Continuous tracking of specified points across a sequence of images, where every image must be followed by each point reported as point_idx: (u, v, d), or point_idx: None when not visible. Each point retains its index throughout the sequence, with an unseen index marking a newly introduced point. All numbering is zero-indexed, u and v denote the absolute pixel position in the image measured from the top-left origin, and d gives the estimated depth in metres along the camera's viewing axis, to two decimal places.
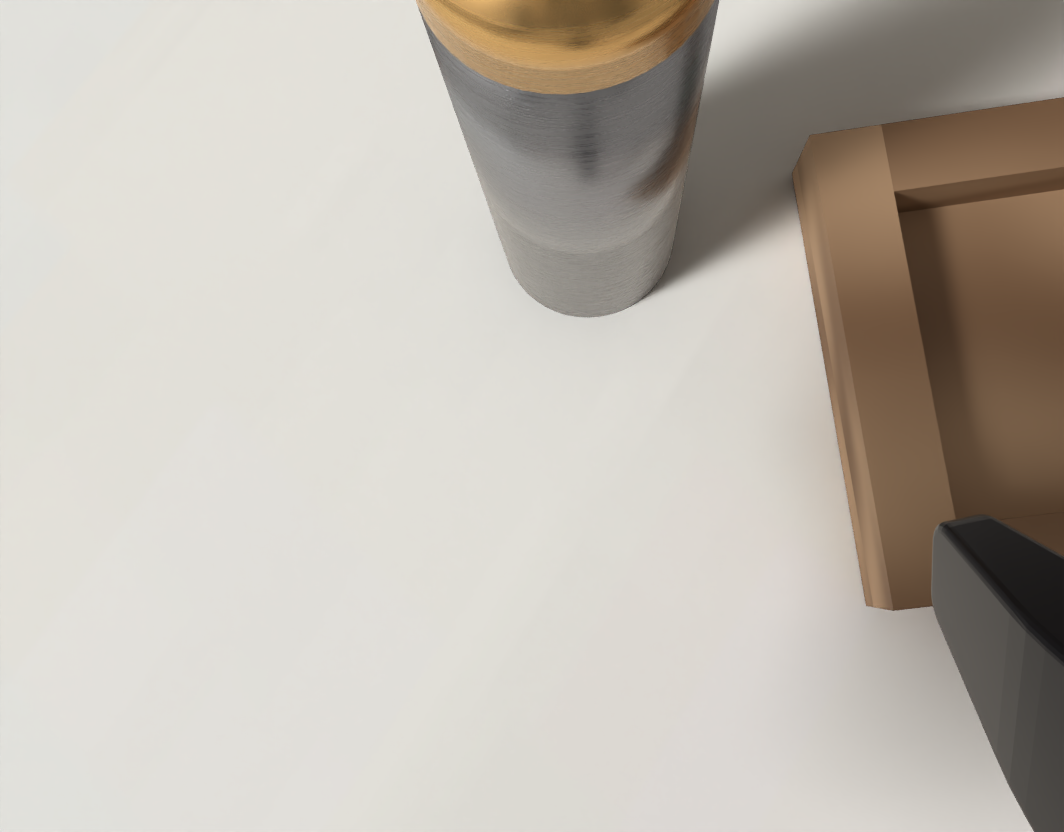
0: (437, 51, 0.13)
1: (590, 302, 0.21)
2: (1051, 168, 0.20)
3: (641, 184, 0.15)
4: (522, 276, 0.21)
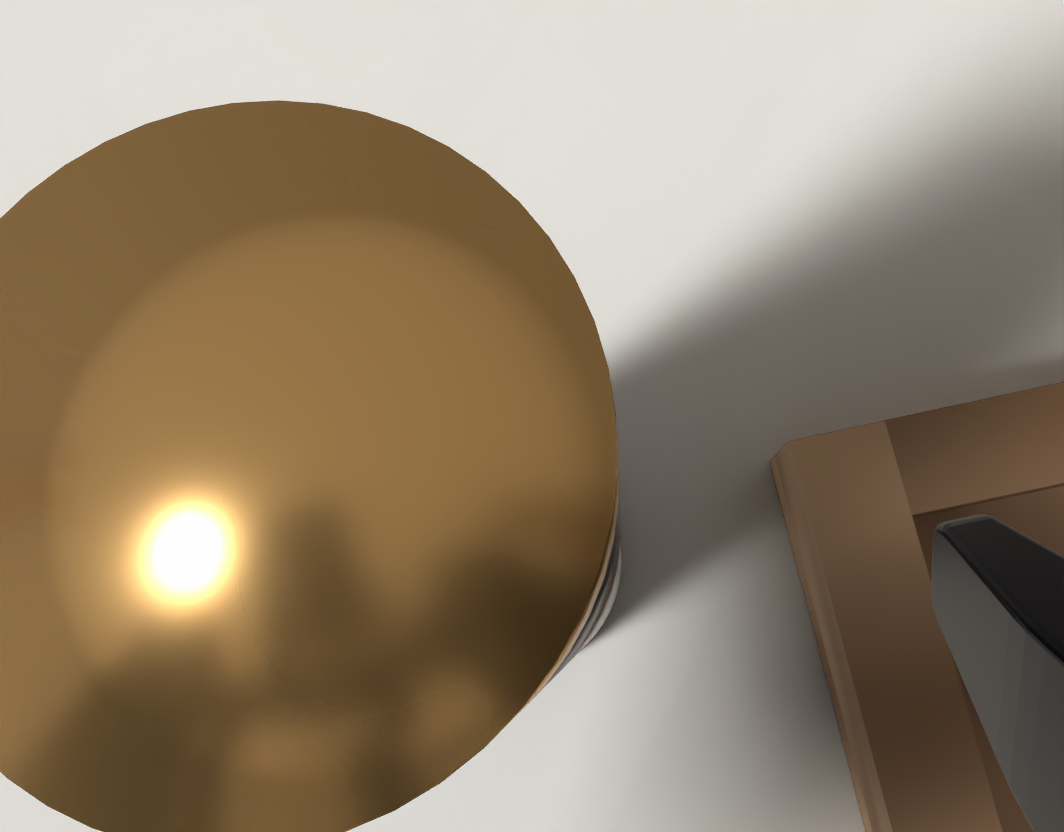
0: None
1: None
2: None
3: None
4: None
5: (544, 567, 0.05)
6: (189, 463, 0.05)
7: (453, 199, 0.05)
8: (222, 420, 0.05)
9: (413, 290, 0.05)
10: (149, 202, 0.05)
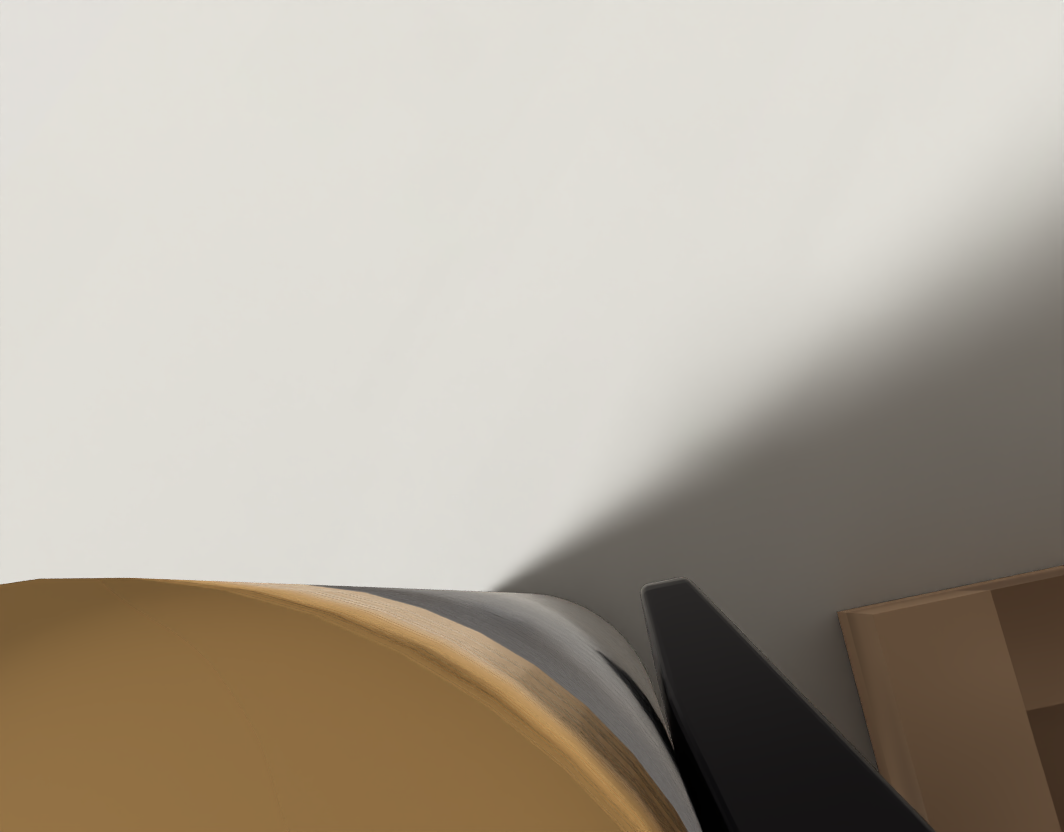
0: None
1: None
2: None
3: None
4: None
5: None
6: None
7: (496, 831, 0.02)
8: None
9: None
10: None
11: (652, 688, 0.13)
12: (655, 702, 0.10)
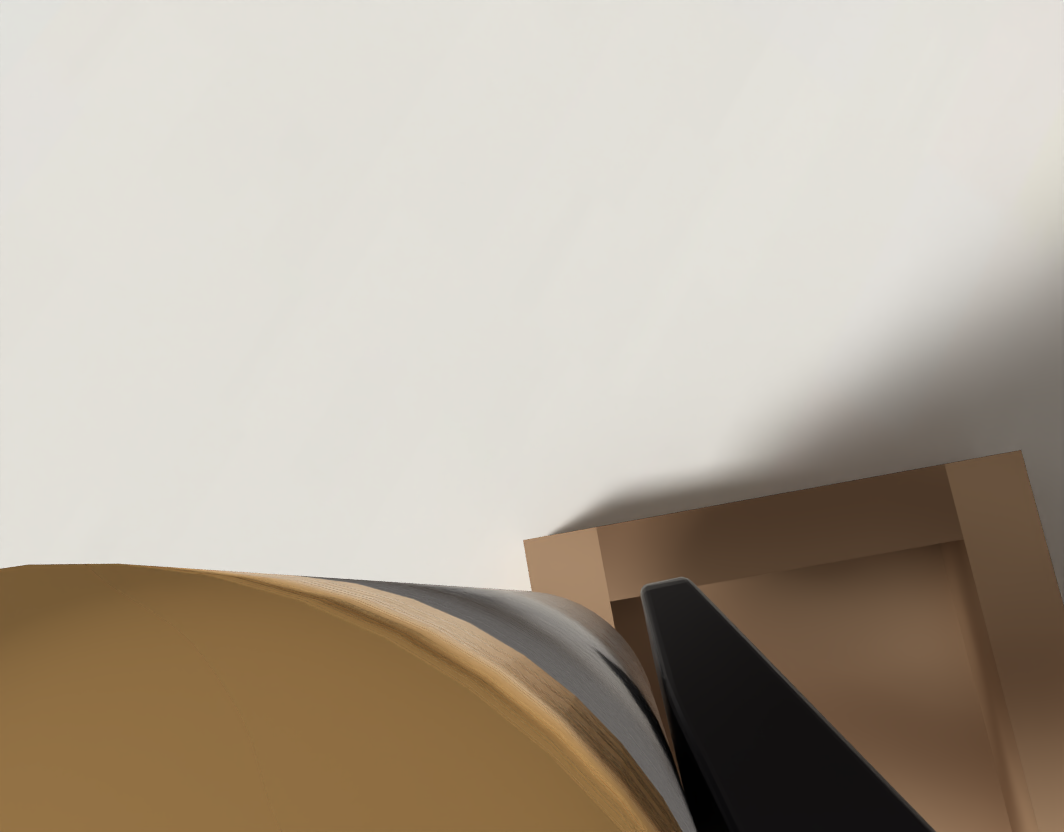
0: None
1: None
2: (771, 572, 0.19)
3: None
4: None
5: None
6: None
7: (478, 813, 0.02)
8: None
9: None
10: None
11: (649, 685, 0.13)
12: (650, 698, 0.10)
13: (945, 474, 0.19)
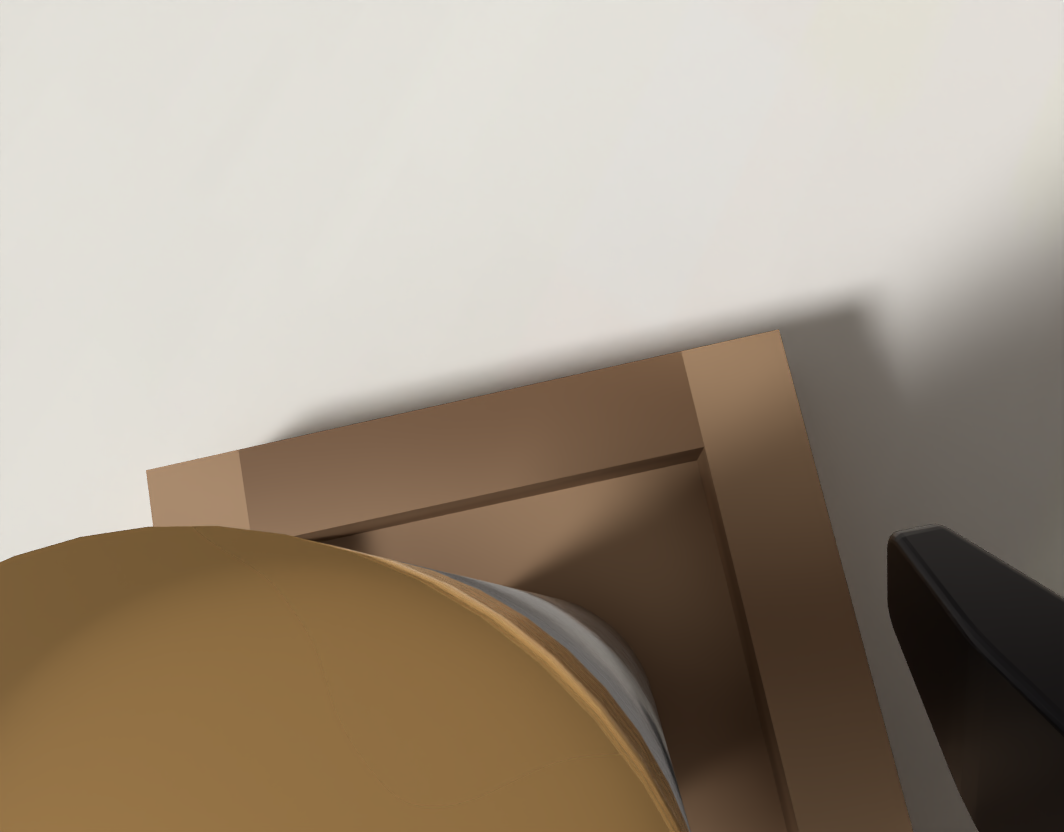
0: None
1: None
2: (458, 499, 0.15)
3: None
4: None
5: None
6: None
7: (489, 709, 0.03)
8: None
9: None
10: (15, 689, 0.04)
11: (647, 682, 0.13)
12: (646, 687, 0.10)
13: (684, 364, 0.15)
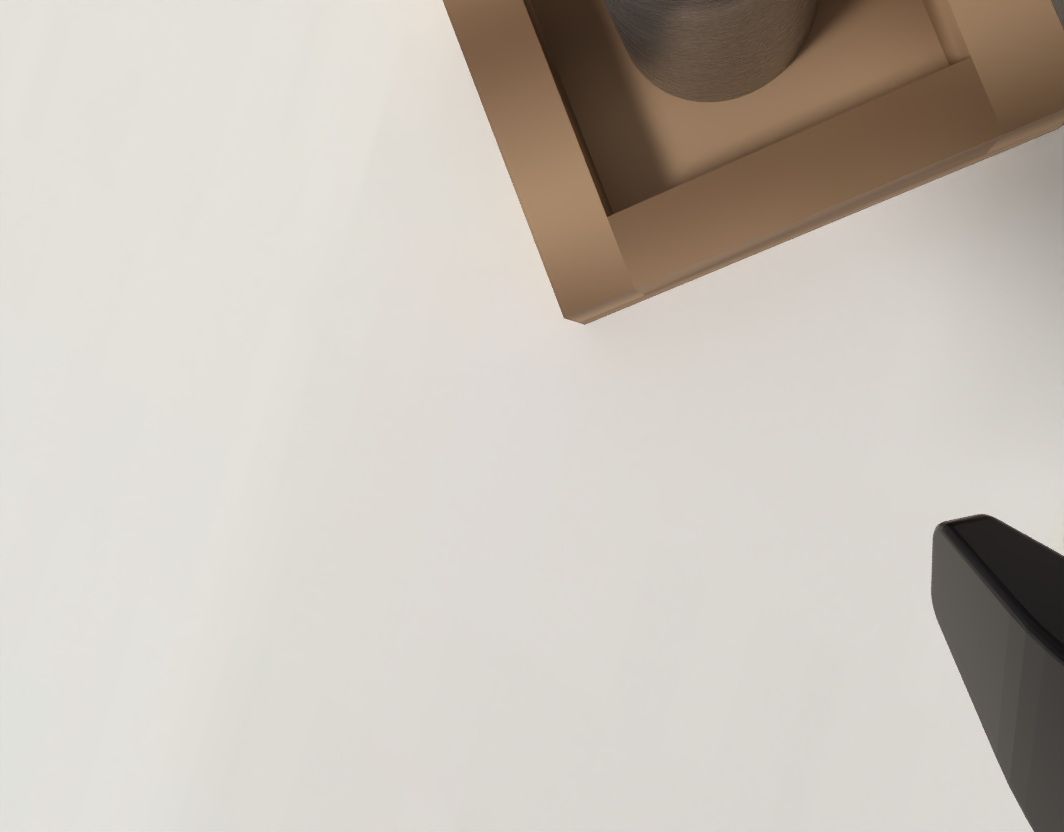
0: None
1: (740, 75, 0.18)
2: None
3: None
4: (655, 70, 0.19)
5: None
6: None
7: None
8: None
9: None
10: None
11: None
12: None
13: None
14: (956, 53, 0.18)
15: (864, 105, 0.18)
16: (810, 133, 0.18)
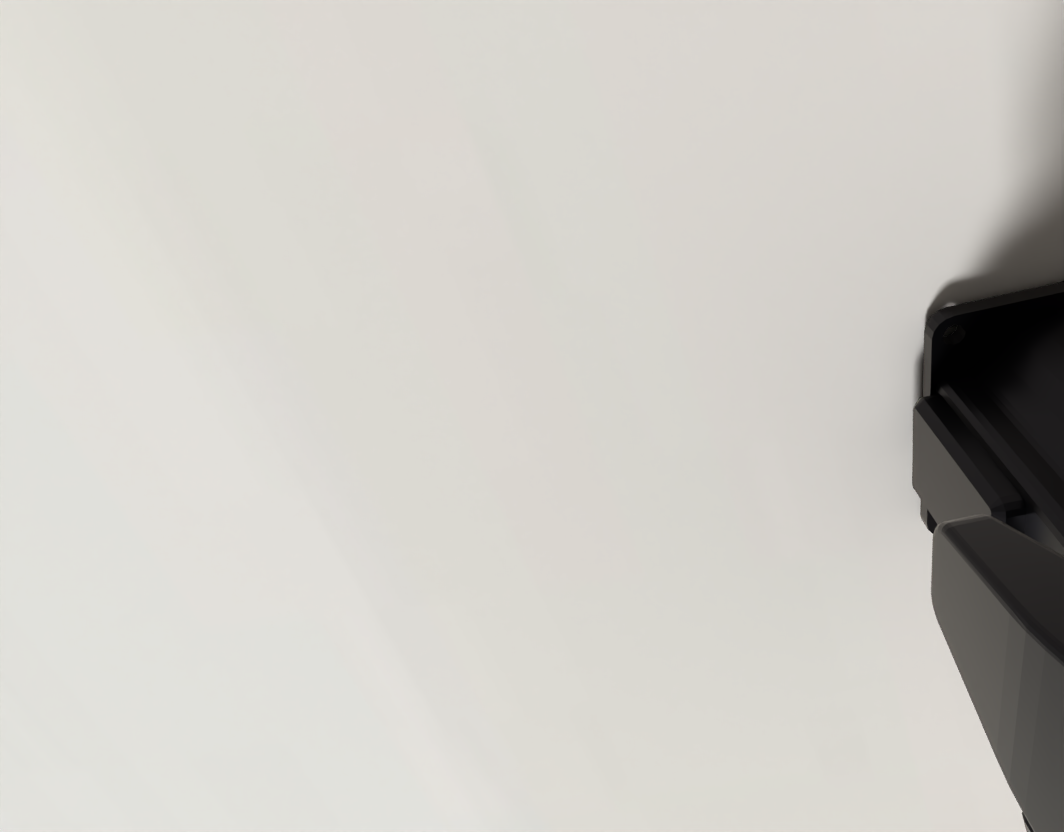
0: None
1: None
2: None
3: None
4: None
5: None
6: None
7: None
8: None
9: None
10: None
11: None
12: None
13: None
14: None
15: None
16: None
